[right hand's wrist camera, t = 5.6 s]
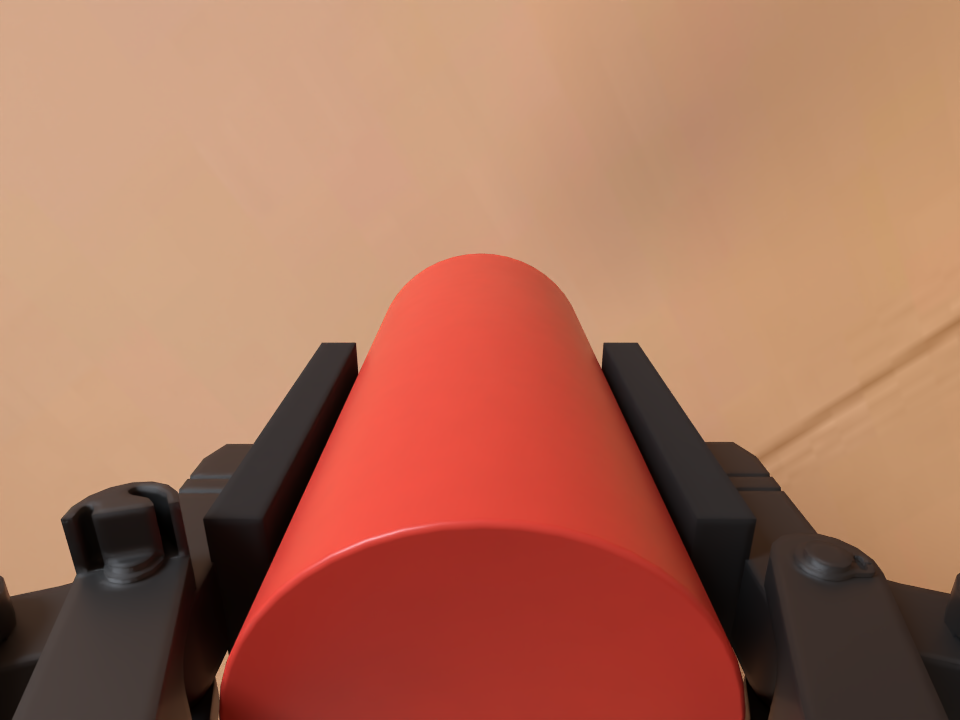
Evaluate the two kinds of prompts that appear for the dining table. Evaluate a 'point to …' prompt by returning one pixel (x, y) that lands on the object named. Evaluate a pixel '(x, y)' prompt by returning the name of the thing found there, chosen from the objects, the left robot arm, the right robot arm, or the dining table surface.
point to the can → (481, 536)
